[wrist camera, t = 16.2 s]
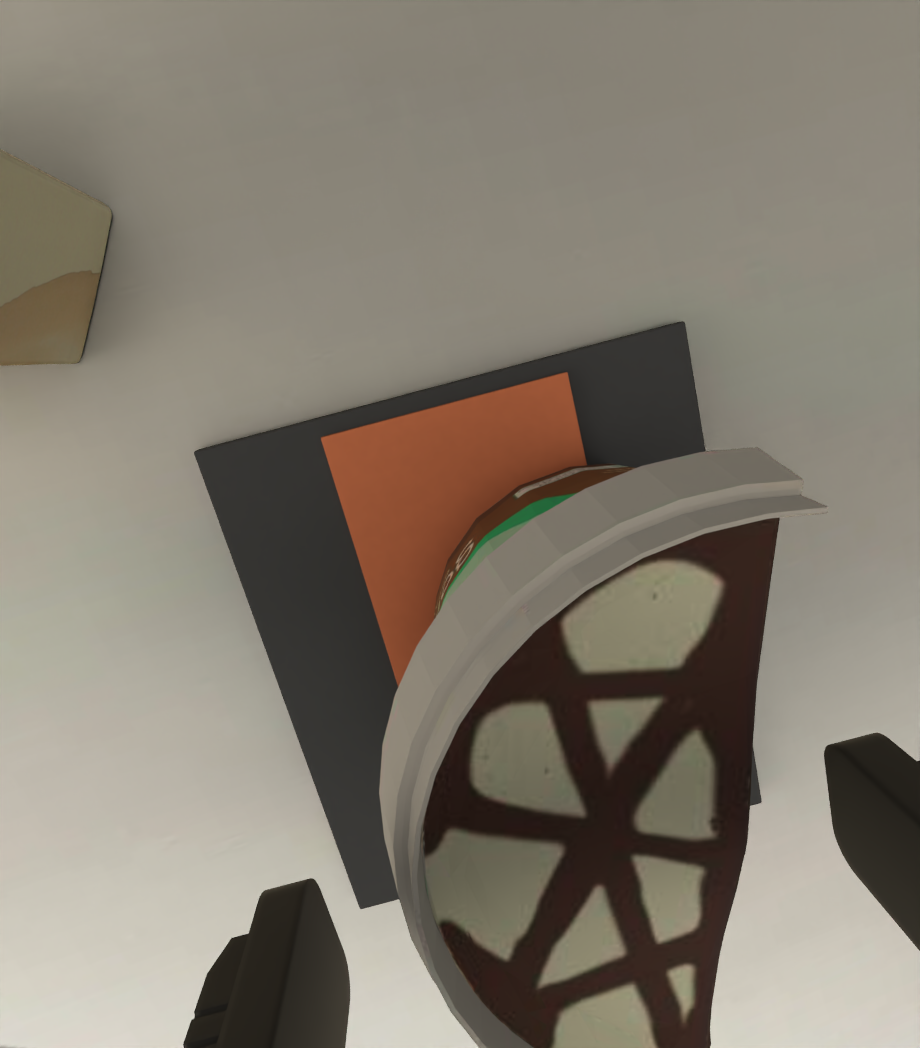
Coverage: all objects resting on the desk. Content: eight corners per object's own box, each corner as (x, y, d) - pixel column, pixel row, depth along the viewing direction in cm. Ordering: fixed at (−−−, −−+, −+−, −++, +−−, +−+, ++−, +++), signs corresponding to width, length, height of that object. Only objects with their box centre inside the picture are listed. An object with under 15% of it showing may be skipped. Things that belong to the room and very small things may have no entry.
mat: (198, 449, 19) (190, 452, 18) (678, 321, 19) (688, 320, 18) (361, 898, 23) (359, 915, 22) (755, 793, 23) (765, 807, 22)
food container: (392, 408, 18) (362, 465, 8) (614, 410, 18) (836, 467, 9) (396, 800, 21) (377, 1182, 11) (586, 794, 21) (728, 1159, 12)
